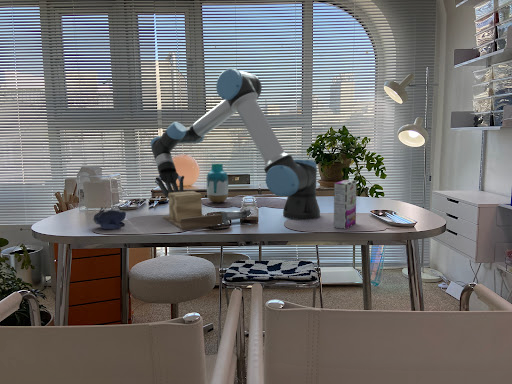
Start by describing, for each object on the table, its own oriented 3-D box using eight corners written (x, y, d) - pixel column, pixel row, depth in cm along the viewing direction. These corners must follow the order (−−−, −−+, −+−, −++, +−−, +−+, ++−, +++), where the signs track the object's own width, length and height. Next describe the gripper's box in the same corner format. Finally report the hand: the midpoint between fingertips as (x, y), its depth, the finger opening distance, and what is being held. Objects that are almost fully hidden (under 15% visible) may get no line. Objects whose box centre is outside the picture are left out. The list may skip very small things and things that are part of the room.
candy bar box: (343, 222, 153) (344, 179, 151) (356, 223, 151) (357, 180, 148) (332, 227, 144) (333, 182, 142) (345, 229, 141) (347, 183, 139)
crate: (168, 217, 161) (167, 192, 160) (193, 214, 166) (192, 190, 165) (177, 222, 152) (176, 196, 151) (202, 219, 157) (201, 193, 156)
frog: (100, 224, 152) (99, 204, 151) (131, 224, 152) (130, 204, 150) (88, 230, 142) (86, 209, 141) (121, 230, 142) (120, 209, 141)
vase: (232, 201, 201) (231, 163, 199) (221, 204, 192) (221, 165, 189) (214, 200, 206) (213, 162, 203) (203, 203, 196) (202, 164, 193)
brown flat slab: (163, 219, 160) (163, 208, 159) (198, 215, 167) (198, 205, 166) (182, 231, 140) (181, 219, 139) (221, 226, 147) (221, 214, 146)
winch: (223, 226, 148) (223, 212, 147) (216, 223, 153) (216, 210, 152) (257, 221, 155) (257, 209, 154) (250, 219, 160) (250, 206, 159)
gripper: (178, 170, 183) (192, 212, 171) (149, 172, 177) (161, 216, 165) (181, 160, 178) (196, 202, 166) (152, 161, 171) (165, 205, 159)
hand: (179, 209), depth 165 cm, fingers closed
